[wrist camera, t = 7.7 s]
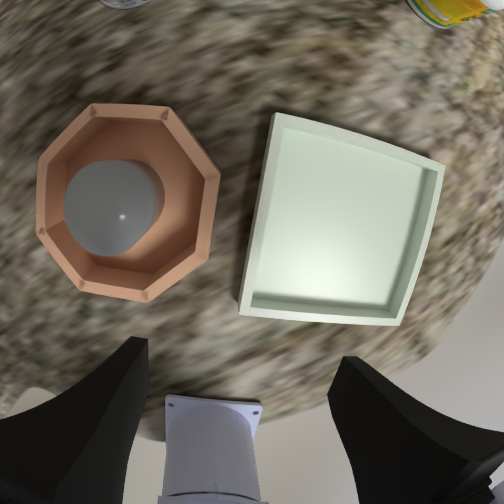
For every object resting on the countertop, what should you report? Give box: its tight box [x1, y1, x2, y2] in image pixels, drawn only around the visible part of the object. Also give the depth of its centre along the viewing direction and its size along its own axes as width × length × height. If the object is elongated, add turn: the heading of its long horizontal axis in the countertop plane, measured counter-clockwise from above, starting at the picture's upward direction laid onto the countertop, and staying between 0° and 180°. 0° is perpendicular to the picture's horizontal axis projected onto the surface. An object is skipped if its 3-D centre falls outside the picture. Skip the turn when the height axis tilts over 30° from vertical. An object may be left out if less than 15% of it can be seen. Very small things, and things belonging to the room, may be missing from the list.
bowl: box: [36, 103, 221, 303], centre depth 16 cm, size 10×10×3 cm
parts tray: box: [238, 112, 445, 326], centre depth 18 cm, size 12×12×2 cm
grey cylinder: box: [64, 159, 165, 256], centre depth 14 cm, size 4×4×4 cm
